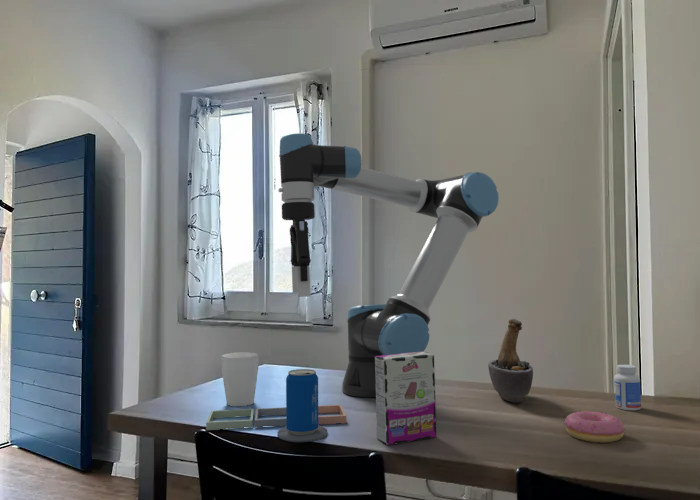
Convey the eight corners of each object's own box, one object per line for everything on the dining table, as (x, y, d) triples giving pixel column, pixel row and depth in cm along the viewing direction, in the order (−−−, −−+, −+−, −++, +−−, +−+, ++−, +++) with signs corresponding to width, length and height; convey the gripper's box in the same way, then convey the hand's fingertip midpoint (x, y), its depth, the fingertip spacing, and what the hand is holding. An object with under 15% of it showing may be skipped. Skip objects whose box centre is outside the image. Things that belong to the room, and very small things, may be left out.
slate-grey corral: (298, 413, 129) (297, 406, 129) (299, 425, 119) (299, 418, 119) (256, 415, 127) (256, 408, 128) (254, 427, 118) (254, 420, 118)
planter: (524, 410, 129) (522, 323, 129) (465, 398, 142) (463, 319, 142) (556, 399, 139) (555, 319, 139) (498, 389, 151) (497, 314, 152)
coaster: (324, 425, 119) (324, 423, 119) (329, 440, 109) (329, 437, 109) (277, 428, 117) (277, 425, 118) (277, 443, 108) (277, 440, 108)
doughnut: (638, 442, 106) (638, 420, 107) (590, 448, 103) (589, 425, 103) (597, 426, 117) (597, 406, 117) (552, 431, 114) (552, 410, 114)
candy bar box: (424, 431, 114) (422, 350, 115) (437, 438, 110) (435, 354, 110) (374, 438, 110) (373, 354, 110) (386, 446, 105) (385, 358, 106)
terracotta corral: (341, 411, 130) (341, 404, 130) (346, 423, 121) (346, 415, 121) (300, 413, 129) (300, 406, 129) (302, 425, 119) (302, 417, 119)
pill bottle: (644, 407, 130) (643, 365, 131) (637, 412, 127) (636, 369, 127) (619, 403, 134) (618, 362, 134) (611, 408, 130) (610, 366, 130)
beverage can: (305, 438, 109) (305, 376, 109) (279, 432, 112) (279, 372, 113) (324, 429, 114) (324, 370, 115) (299, 424, 118) (299, 367, 118)
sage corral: (253, 415, 127) (253, 408, 127) (252, 428, 118) (252, 420, 118) (211, 417, 126) (211, 410, 126) (206, 430, 117) (206, 422, 117)
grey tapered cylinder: (250, 408, 134) (250, 358, 134) (215, 407, 136) (215, 357, 136) (264, 399, 143) (263, 352, 143) (230, 398, 144) (230, 351, 145)
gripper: (278, 207, 140) (281, 292, 140) (285, 196, 116) (288, 299, 115) (308, 207, 142) (311, 290, 141) (321, 196, 117) (324, 297, 117)
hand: (301, 294), depth 128 cm, fingers open, 13 cm apart
